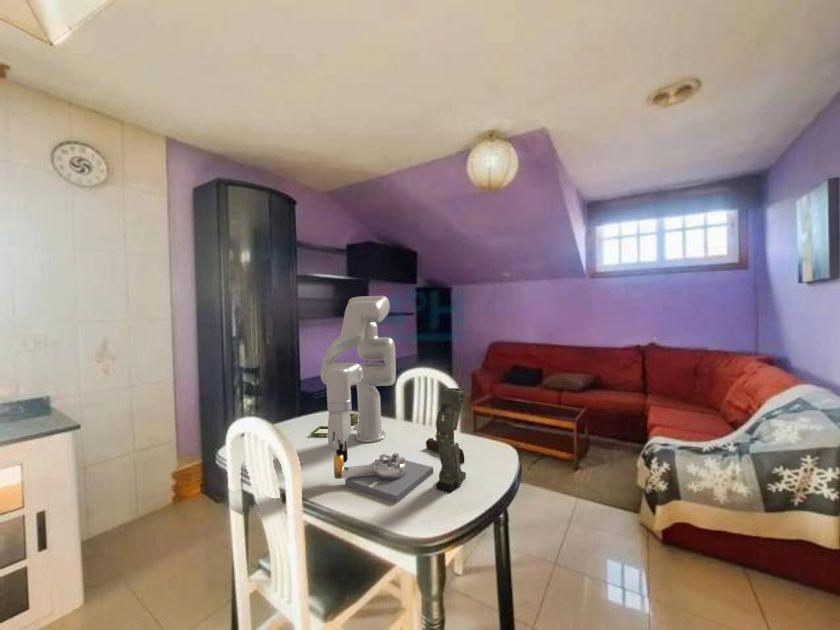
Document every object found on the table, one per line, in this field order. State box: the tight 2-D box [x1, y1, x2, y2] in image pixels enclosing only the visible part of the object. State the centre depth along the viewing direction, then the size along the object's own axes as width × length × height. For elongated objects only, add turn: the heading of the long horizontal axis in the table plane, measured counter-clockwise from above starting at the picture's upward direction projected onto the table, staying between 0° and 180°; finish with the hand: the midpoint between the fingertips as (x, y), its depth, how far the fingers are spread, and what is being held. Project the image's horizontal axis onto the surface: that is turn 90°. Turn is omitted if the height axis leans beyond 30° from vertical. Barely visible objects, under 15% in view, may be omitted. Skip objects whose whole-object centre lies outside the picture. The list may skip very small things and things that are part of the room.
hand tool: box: [425, 437, 465, 464], centre depth 128 cm, size 19×4×5 cm, turn 36°
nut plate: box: [344, 454, 434, 504], centre depth 112 cm, size 20×20×2 cm
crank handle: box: [333, 452, 406, 480], centre depth 111 cm, size 22×10×7 cm, turn 97°
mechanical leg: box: [435, 387, 467, 494], centre depth 109 cm, size 14×7×30 cm, turn 148°
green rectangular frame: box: [310, 425, 328, 436], centre depth 156 cm, size 9×9×2 cm
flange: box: [350, 412, 359, 426], centre depth 167 cm, size 5×15×15 cm
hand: (342, 461), depth 114 cm, fingers closed
